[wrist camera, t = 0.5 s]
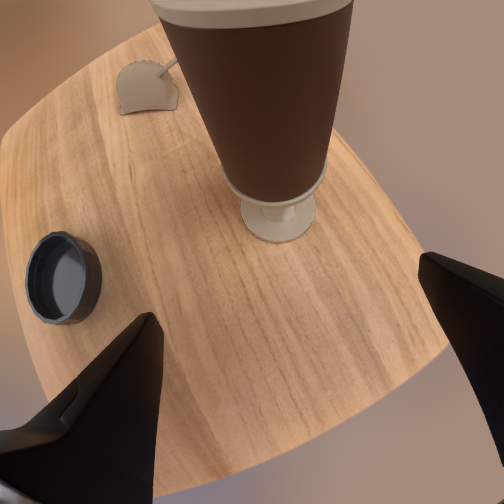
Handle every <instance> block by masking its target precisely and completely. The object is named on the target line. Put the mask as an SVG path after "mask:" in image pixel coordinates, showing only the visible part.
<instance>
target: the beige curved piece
mask: <svg viewBox="0 0 504 504" xmlns="http://www.w3.org/2000/svg"><path fill="white" fill-rule="evenodd" d="M177 62H178V61H177V58H176V57H175V58H174V59H172V60H171V61H170V62H169V63H167V64H166V65H165V66H164V67H163V66H161V65H160V63H155V62H153V61H151V60H149V61H145V60H142V61H139V62H137V61H135V62H134V63H132V64H129V65H127V66H126V67H124V68H123V69H122V70H121V71H120V73H119V75H118V78H117V83H116V90H117V95H118V99H119V101H120V103H121V106H120V115H123V114H127V113H131V112H135V111H141V110H149V109H166V110H175V109H176V108H177V102H178V88H177V87H176V86H175V85H174V84H173V81H172V79H173V78H171V76H170V74H169V73H168V69H169V68H171V67H172V66H173V65H174V64H176V63H177Z"/></svg>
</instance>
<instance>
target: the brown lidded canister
mask: <svg viewBox="0 0 504 504" xmlns="http://www.w3.org/2000/svg"><path fill="white" fill-rule="evenodd" d="M149 1H150V3H151V5H152V8H153V10H154V12H155V13H156V15H158V17H159V19H160V21H161V24H162V26H163V28H164V30H165V33H166V35H167V37H168V40H169V42H170V44H171V47H172V49H173V51H174V54H175V56H176V58H177V61H178V63H179V65H180V67H181V70H182V72H183V74H184V77H185V79H186V81H187V84H188V86H189V88H190V91H191V93H192V95H193V98H194V100H195V102H196V105H197V107H198V109H199V112H200V114H201V117H202V119H203V121H204V124H205V126H206V128H207V131H208V133H209V135H210V138H211V140H212V142H213V145H214V147H215V149H216V152H217V154H218V157H219V159H220V161H221V164H222V166H223V168H224V171H225V173H226V175H227V177H228V179H229V181H230V182H231V183H232V185H233V186H234V187H235V188H236V189H237V190H239V191H240V192H241V193H243V194H245V195H246V196H248V197H251V198H253V199H256V200H260V201H265V202H282V201H287V200H291V199H294V198H296V197H298V196H300V195H302V194H304V193H305V192H307V191H308V190H309V189H311V188H312V187H313V186H314V185H315V183H316V182H317V181H318V179H319V178H320V176H321V174H322V172H323V168H324V164H325V160H326V155H327V150H328V146H329V141H330V136H331V131H332V126H333V121H334V116H335V111H336V106H337V100H338V95H339V89H340V85H341V79H342V73H343V68H344V62H345V55H346V49H347V43H348V37H349V30H350V23H351V15H352V9H353V1H354V0H149Z"/></svg>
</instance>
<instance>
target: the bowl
mask: <svg viewBox="0 0 504 504" xmlns="http://www.w3.org/2000/svg"><path fill="white" fill-rule="evenodd" d="M101 284H102V272H101V265H100V262H99V258H98V256H97V254H96V252H95V250H94V249H93V248H92V246H91V245H90V244H88V243H87V242H86V241H84V240H82V239H80V238H78V237H76V236H74V235H71V234H69V233H67V232H65V231H59V232H51V233H50V234H48V235H47V236H45V237H44V238H42V239H41V240H40V241H39V243H38V244H37V246H36V247H35V248H34V250H33V251H32V253H31V256H30V259H29V262H28V265H27V268H26V278H25V287H26V294H27V299H28V302H29V304H30V306H31V308H32V310H33V312H34V314H35V315H36V316H37V317H39V318H40V319H41V320H42V321H43V322H45V323H50V324H56V325H71V324H76V323H79V322H81V321H82V320H84V319H85V318H86V317H87V316H88V315H89V314H90V313H91V312H92V310H93V309H94V307H95V305H96V303H97V301H98V298H99V295H100V290H101Z"/></svg>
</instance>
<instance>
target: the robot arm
mask: <svg viewBox="0 0 504 504" xmlns="http://www.w3.org/2000/svg"><path fill="white" fill-rule="evenodd" d="M418 279H419V282H420V284H421V286H422V288H423V290H424V292H425V294H426V297H427V299H428V301H429V303H430V305H431V308H432V310H433V312H434V314H435V316H436V318H437V320H438V322H439V323H440V325H441V327H442V329H443V331H444V332H445V334H446V336H447V338H448V340H449V342H450V343H451V345H452V347H453V349H454V351H455V353H456V355H457V357H458V359H459V361H460V363H461V364H462V366H463V369H464V371H465V373H466V375H467V377H468V379H469V381H470V383H471V386H472V388H473V390H474V392H475V394H476V397H477V399H478V401H479V404H480V406H481V408H482V411H483V413H484V415H485V418H486V421H487V423H488V426H489V429H490V431H491V434H492V437H493V439H494V442H495V445H496V447H497V451H498V453H499V457H500V459H501V463H502V465H503V467H504V279H503V278H500V277H498V276H495V275H493V274H490V273H488V272H485V271H483V270H480V269H477V268H475V267H472V266H469V265H467V264H464V263H461V262H459V261H456V260H454V259H451V258H448V257H445V256H443V255H440V254H437V253H434V252H427V253H423V254H421V256H420V260H419V270H418ZM163 352H164V333H163V330H162V328H161V326H160V324H159V322H158V320H157V318H156V316H155V315H154V313H152V312H147V313H142V314H140V315H139V316H138V317H137V318H136V319H135V320H134V321H133V322H132V323H131V324H130V325H129V326H127V327H126V328H125V329H124V330H123V331H122V332H121V333H120V334H119V335H118V336H117V337H116V338H115V339H114V340H113V341H112V342H111V343H110V344H109V345H108V346H107V347H106V348H105V349H104V350H103V351H102V352H101V353H100V354H99V355H98V356H97V357H96V358H95V359H94V360H93V361H92V362H91V363H90V364H89V365H88V366H87V367H86V368H85V369H84V370H83V371H82V372H81V373H80V374H79V375H78V376H77V378H75V379H74V380H73V381H72V382H71V383H70V384H69V385H68V386H67V387H66V388H65V389H64V390H63V391H62V392H61V393H60V394H59V395H58V396H57V397H56V398H54V399H53V400H52V401H51V402H50V403H49V404H48V405H47V406H46V407H44V408H43V409H42V410H41V411H40V412H39V413H38V414H37V415H35V416H34V417H33V418H32V419H31V420H30V421H29V422H27V423H26V424H25V425H23V426H22V427H19V428H16V429H12V430H3V431H0V504H152V502H153V488H152V487H153V477H154V461H155V447H156V435H157V425H158V415H159V405H160V396H161V388H162V379H163ZM498 504H504V500H502V501H501V502H499V503H498Z"/></svg>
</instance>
